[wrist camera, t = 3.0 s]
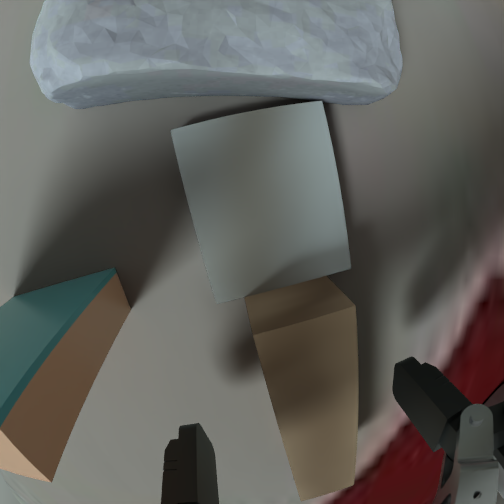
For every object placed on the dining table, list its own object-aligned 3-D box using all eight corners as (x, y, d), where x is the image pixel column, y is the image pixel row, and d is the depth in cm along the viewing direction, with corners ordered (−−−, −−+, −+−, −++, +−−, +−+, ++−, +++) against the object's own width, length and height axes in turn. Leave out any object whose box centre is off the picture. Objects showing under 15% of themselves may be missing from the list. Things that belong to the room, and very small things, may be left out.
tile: (114, 267, 10) (-8, 419, 3) (130, 309, 11) (51, 482, 3) (13, 296, 10) (-93, 397, 2) (28, 330, 11) (-60, 442, 3)
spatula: (312, 106, 10) (354, 81, 6) (350, 437, 15) (370, 478, 11) (174, 133, 9) (153, 116, 6) (272, 460, 15) (282, 505, 11)
